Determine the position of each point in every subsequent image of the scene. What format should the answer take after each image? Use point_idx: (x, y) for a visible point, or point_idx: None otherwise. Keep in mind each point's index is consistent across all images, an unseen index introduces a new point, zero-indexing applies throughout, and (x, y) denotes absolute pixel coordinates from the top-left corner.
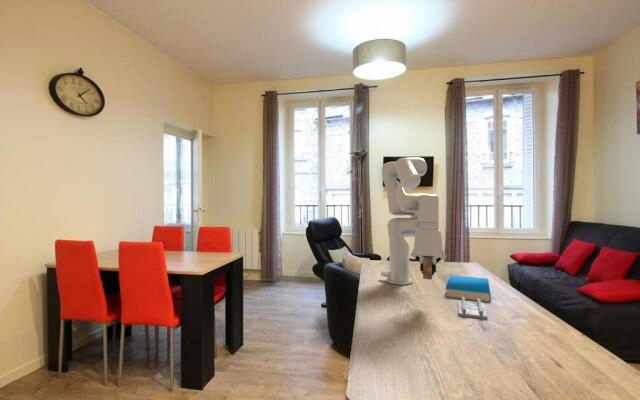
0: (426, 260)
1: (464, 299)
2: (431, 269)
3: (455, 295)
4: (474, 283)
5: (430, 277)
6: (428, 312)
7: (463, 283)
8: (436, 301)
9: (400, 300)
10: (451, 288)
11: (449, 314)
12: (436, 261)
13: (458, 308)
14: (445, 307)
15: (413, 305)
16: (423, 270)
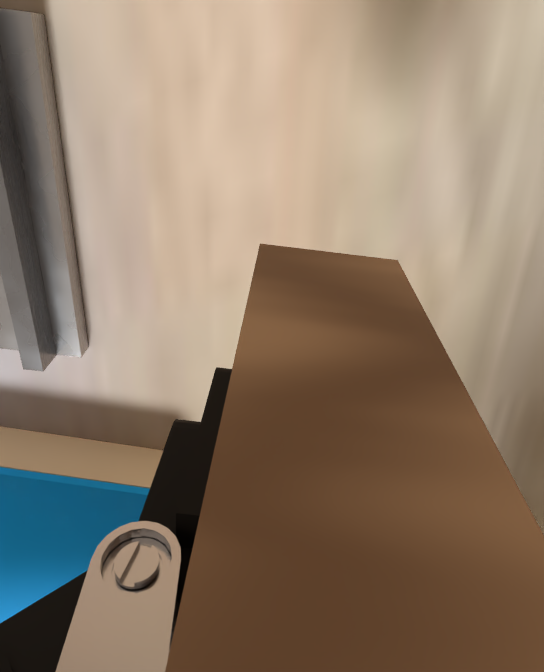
0: (417, 559)
1: (12, 311)
2: (241, 333)
3: (113, 452)
4: (5, 589)
5: (274, 259)
6: (311, 31)
7: (64, 581)
8: (234, 341)
9: (509, 302)
10: (123, 491)
11: (124, 30)
12: (81, 618)
13: (52, 156)
14: (167, 222)
15: (423, 204)
16: (427, 332)
